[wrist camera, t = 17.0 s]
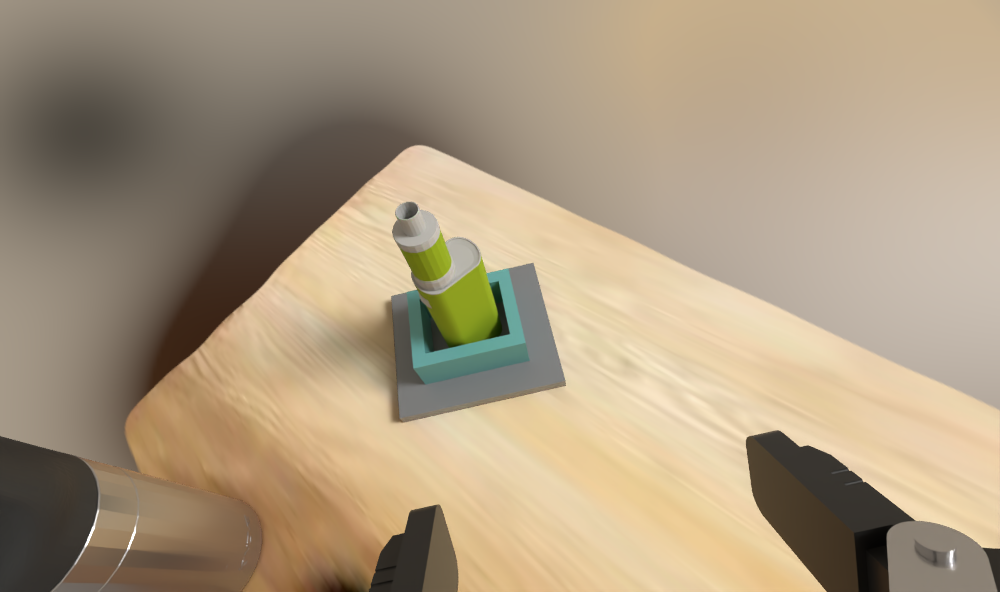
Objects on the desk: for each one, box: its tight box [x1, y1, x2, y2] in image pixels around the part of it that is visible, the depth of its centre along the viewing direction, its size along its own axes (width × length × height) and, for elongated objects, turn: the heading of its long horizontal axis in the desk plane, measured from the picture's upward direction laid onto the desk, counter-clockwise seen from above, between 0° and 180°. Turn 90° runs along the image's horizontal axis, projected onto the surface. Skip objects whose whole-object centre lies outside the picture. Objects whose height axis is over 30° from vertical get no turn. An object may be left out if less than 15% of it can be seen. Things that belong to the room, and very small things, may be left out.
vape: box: [392, 202, 502, 348], centre depth 40 cm, size 4×6×20 cm, turn 130°
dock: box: [391, 263, 566, 422], centre depth 48 cm, size 16×14×5 cm
